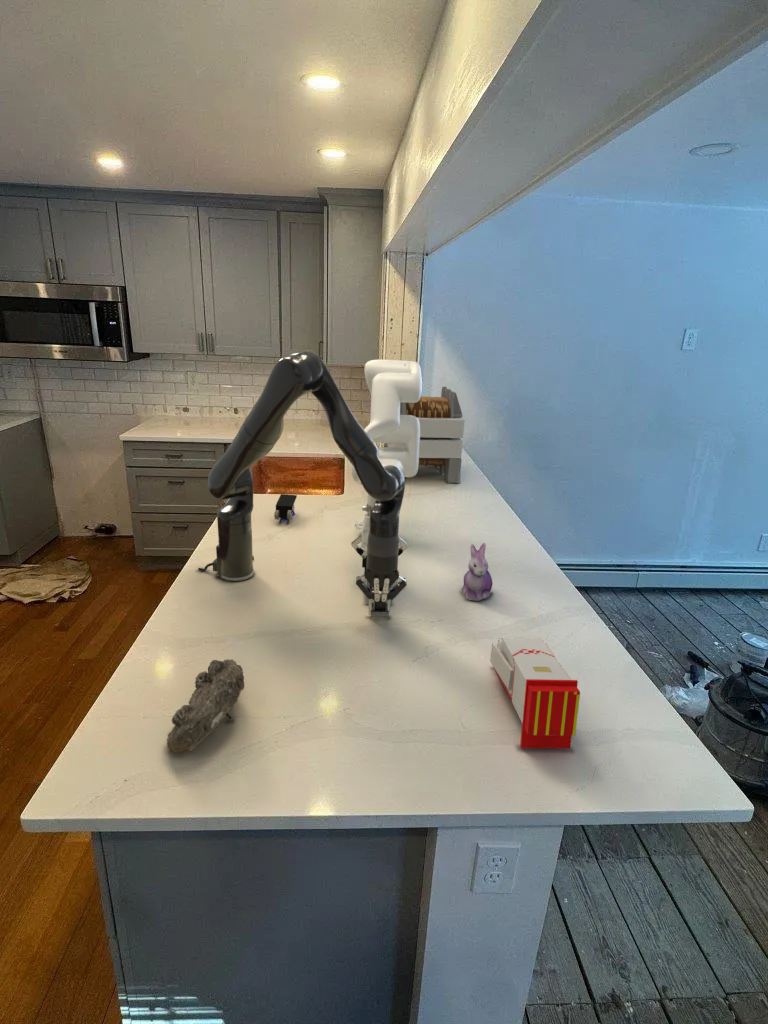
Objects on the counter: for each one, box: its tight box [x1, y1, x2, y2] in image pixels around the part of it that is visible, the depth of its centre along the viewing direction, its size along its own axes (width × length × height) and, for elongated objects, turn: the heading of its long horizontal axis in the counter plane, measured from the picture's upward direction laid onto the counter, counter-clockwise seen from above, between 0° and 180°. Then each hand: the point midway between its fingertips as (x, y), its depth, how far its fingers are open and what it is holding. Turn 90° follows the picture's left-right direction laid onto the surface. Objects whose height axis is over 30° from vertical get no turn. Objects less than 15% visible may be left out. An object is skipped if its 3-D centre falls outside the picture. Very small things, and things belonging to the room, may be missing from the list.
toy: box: [489, 636, 581, 749], centre depth 115 cm, size 12×13×30 cm
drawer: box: [367, 586, 391, 619], centre depth 148 cm, size 21×5×6 cm, turn 1°
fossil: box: [166, 658, 245, 754], centre depth 106 cm, size 22×10×15 cm
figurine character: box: [274, 493, 298, 525], centre depth 208 cm, size 7×8×15 cm
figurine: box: [462, 542, 493, 602], centre depth 157 cm, size 9×10×15 cm
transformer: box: [383, 386, 465, 484], centre depth 268 cm, size 34×33×41 cm
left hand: (379, 612), depth 141 cm, fingers closed
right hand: (378, 569), depth 160 cm, fingers closed on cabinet, 6 cm apart
